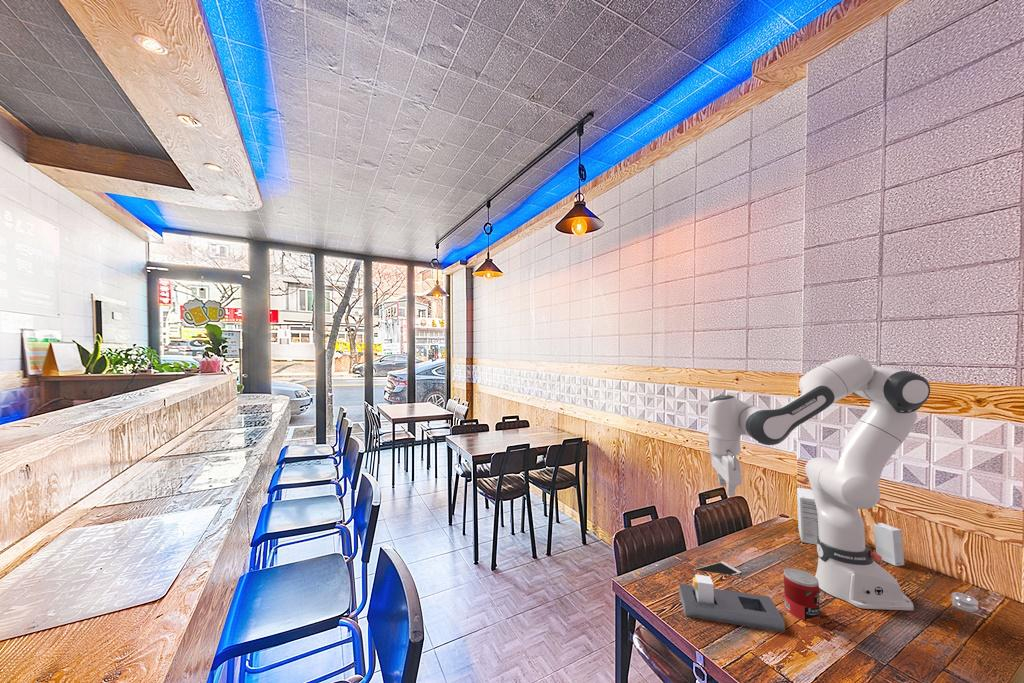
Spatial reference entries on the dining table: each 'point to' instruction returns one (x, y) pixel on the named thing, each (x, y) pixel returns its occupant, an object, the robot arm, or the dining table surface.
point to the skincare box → (889, 544)
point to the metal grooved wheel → (965, 602)
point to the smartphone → (720, 568)
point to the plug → (704, 589)
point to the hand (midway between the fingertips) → (726, 490)
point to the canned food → (802, 595)
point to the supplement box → (807, 516)
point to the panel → (733, 608)
